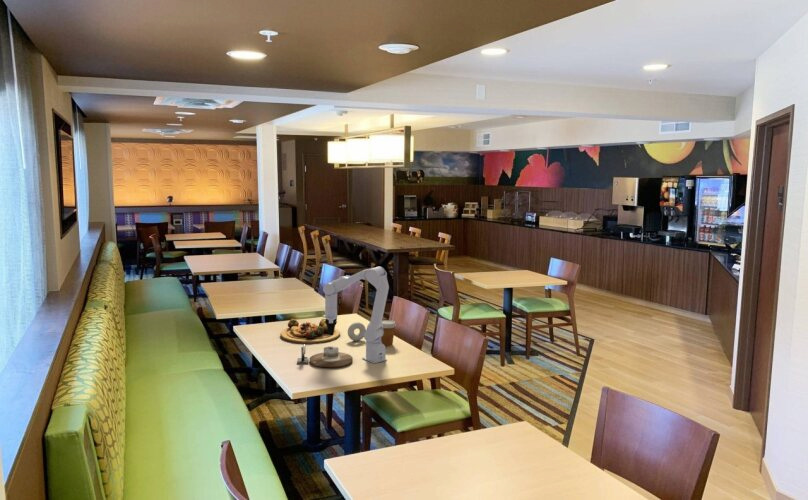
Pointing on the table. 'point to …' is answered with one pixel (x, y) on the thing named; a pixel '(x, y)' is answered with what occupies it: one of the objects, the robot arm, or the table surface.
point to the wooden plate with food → (308, 333)
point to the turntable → (331, 360)
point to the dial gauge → (303, 359)
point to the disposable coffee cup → (388, 332)
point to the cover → (331, 351)
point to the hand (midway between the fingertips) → (331, 334)
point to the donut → (352, 327)
